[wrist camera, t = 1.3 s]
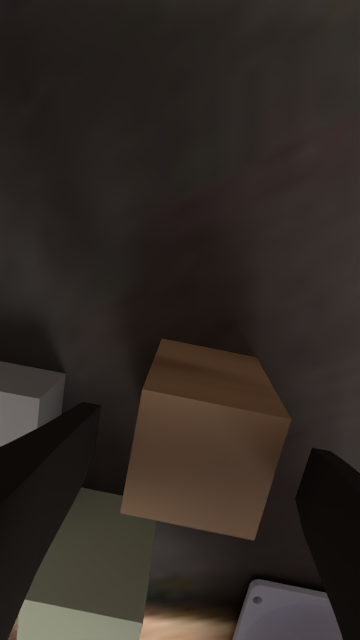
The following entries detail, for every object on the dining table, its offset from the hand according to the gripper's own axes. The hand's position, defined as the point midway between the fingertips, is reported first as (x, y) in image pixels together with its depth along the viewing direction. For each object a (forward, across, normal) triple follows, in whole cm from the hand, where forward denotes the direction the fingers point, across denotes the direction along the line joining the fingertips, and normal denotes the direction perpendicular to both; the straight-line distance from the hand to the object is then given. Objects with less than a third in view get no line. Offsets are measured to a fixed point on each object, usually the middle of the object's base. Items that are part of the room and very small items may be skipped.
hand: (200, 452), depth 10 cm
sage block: (+5, +3, +9) cm, 11 cm away
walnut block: (+5, 0, 0) cm, 5 cm away
